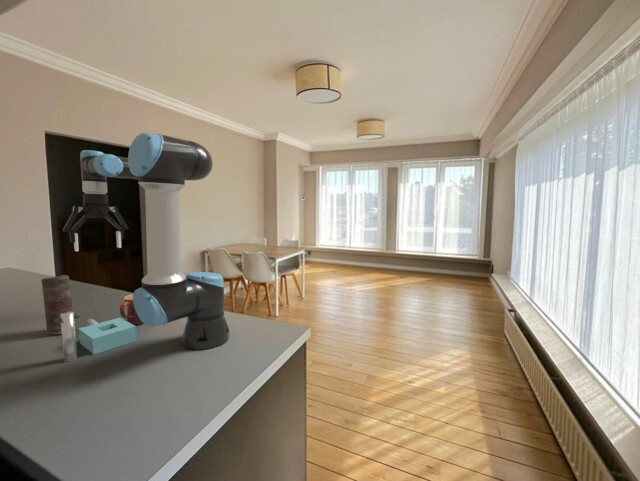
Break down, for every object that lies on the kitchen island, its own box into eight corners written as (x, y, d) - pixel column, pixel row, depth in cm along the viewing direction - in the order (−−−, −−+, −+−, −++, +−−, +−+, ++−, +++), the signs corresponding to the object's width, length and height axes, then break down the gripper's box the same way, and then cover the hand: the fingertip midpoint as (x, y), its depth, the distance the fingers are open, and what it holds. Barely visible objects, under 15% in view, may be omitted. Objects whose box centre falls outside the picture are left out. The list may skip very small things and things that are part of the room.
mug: (137, 316, 120) (136, 292, 119) (156, 319, 118) (155, 294, 117) (111, 328, 108) (110, 301, 107) (132, 331, 107) (130, 303, 106)
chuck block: (136, 340, 100) (135, 326, 99) (93, 354, 90) (92, 338, 90) (109, 323, 113) (108, 311, 112) (69, 334, 103) (68, 320, 102)
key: (80, 353, 91) (77, 309, 89) (84, 356, 89) (81, 311, 87) (56, 361, 86) (52, 314, 84) (59, 365, 84) (55, 317, 82)
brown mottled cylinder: (43, 338, 100) (37, 279, 98) (50, 329, 106) (45, 274, 104) (72, 334, 103) (67, 277, 101) (77, 326, 110) (73, 272, 107)
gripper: (128, 194, 125) (131, 245, 127) (49, 191, 105) (54, 251, 108) (135, 194, 120) (138, 247, 122) (53, 191, 101) (58, 253, 103)
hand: (98, 249), depth 115 cm, fingers open, 13 cm apart
